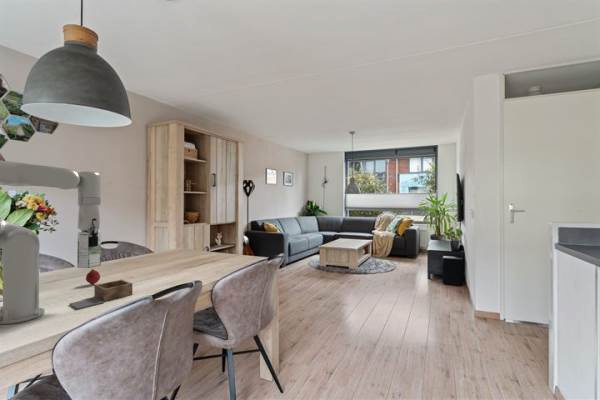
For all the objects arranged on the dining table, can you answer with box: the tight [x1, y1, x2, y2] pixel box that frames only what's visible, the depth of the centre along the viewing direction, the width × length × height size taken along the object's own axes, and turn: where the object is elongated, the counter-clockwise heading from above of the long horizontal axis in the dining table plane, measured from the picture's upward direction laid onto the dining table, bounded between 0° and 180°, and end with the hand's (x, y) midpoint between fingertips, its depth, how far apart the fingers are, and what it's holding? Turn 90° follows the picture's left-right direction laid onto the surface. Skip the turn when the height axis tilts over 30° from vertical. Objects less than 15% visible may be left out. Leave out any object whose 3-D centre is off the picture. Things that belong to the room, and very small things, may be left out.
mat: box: [69, 297, 105, 311], centre depth 120 cm, size 9×9×1 cm
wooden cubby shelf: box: [93, 279, 133, 303], centre depth 130 cm, size 11×11×5 cm
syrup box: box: [76, 230, 102, 269], centre depth 121 cm, size 6×6×14 cm
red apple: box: [85, 268, 101, 286], centre depth 147 cm, size 6×6×8 cm
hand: (89, 245), depth 121 cm, fingers closed on syrup box, 7 cm apart
